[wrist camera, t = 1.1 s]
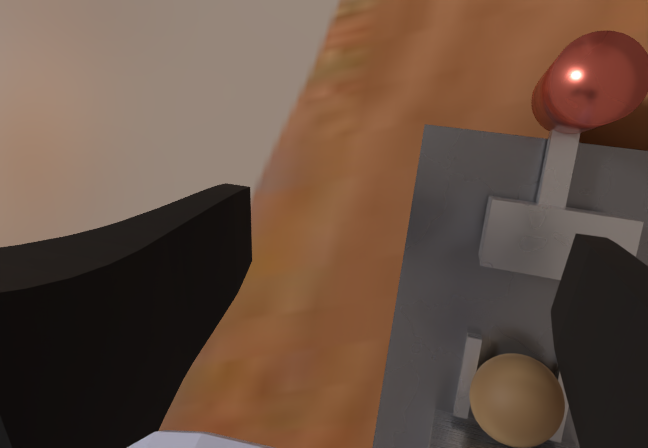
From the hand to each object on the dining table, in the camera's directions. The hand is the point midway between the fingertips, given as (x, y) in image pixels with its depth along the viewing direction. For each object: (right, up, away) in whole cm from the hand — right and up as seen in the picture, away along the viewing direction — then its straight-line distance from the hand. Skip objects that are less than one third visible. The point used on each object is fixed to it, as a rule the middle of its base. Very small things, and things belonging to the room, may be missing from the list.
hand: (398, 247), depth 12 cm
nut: (+7, -6, +11) cm, 14 cm away
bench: (+7, -4, +12) cm, 14 cm away
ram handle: (+8, +3, +9) cm, 13 cm away
